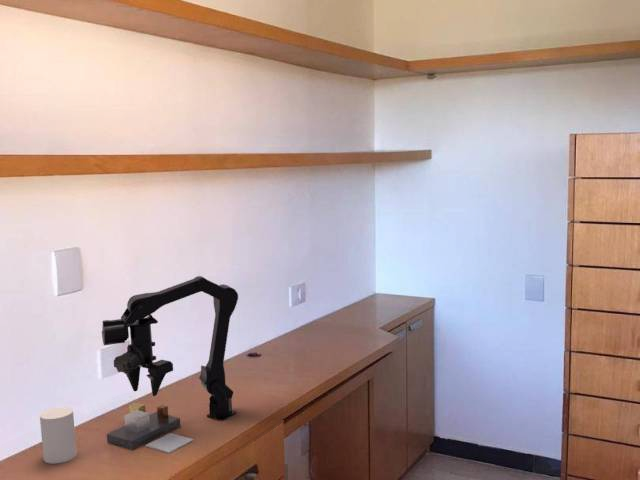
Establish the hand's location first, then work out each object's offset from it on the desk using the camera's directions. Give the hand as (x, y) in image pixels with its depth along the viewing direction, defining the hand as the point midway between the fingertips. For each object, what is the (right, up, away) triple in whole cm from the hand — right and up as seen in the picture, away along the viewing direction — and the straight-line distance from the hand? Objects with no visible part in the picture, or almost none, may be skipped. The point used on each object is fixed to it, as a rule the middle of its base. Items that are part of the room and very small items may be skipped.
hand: (145, 393), depth 188 cm
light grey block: (-1, -9, -3) cm, 10 cm away
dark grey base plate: (0, -11, -1) cm, 11 cm away
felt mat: (+9, -12, -8) cm, 17 cm away
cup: (-19, -14, -14) cm, 27 cm away
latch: (-3, -8, +3) cm, 9 cm away
